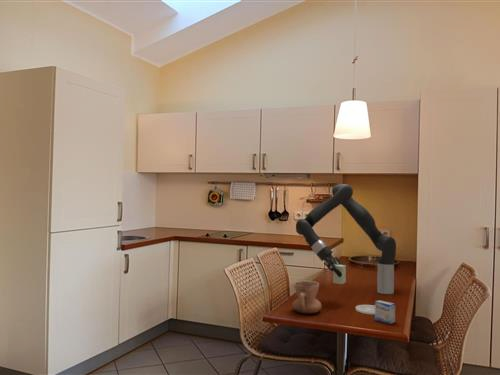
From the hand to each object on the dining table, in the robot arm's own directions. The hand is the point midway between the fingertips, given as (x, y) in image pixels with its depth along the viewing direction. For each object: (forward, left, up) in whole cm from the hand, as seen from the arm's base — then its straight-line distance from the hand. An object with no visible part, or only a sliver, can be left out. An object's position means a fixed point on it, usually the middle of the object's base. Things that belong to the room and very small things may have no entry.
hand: (342, 275), depth 216 cm
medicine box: (+13, +25, -16) cm, 33 cm away
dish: (+1, +14, -16) cm, 21 cm away
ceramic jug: (+21, -11, -16) cm, 29 cm away
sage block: (0, -2, -4) cm, 5 cm away
